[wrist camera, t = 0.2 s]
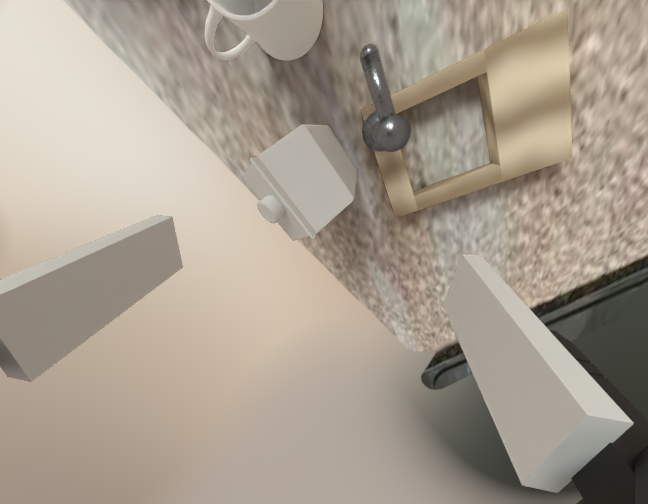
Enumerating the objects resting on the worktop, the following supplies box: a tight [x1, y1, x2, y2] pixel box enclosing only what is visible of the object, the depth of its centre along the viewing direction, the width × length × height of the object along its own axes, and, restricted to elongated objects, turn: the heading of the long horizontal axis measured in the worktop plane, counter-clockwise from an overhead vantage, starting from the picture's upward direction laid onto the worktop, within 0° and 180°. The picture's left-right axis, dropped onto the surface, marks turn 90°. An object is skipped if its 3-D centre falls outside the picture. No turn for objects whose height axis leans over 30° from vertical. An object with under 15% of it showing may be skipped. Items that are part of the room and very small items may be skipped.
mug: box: [205, 0, 323, 61], centre depth 23 cm, size 12×8×12 cm
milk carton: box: [242, 124, 358, 241], centre depth 26 cm, size 7×7×19 cm
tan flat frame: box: [361, 9, 572, 218], centre depth 29 cm, size 14×20×2 cm
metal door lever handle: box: [360, 44, 411, 152], centre depth 24 cm, size 8×4×16 cm, turn 24°
